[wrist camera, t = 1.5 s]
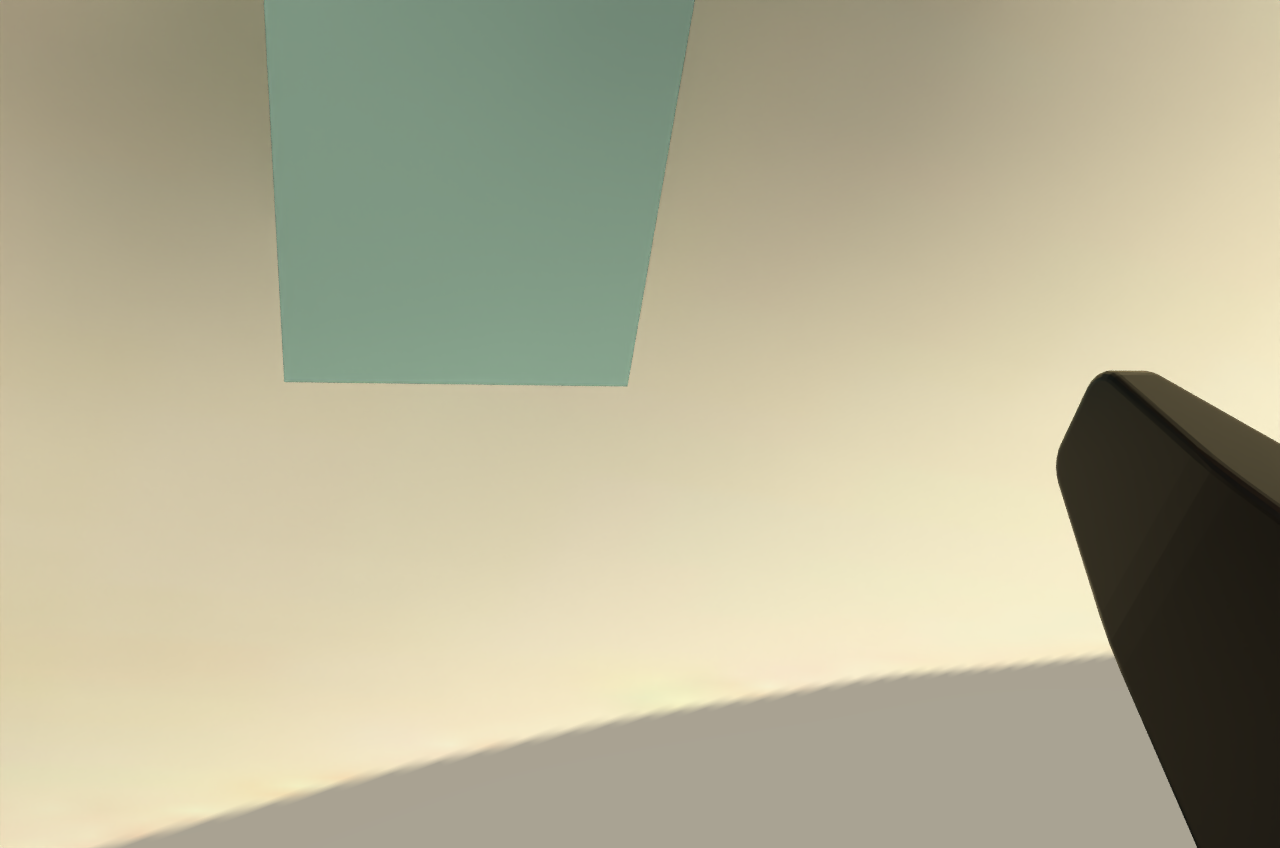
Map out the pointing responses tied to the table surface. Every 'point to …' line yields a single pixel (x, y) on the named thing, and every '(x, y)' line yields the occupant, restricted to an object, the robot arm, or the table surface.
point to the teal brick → (468, 184)
